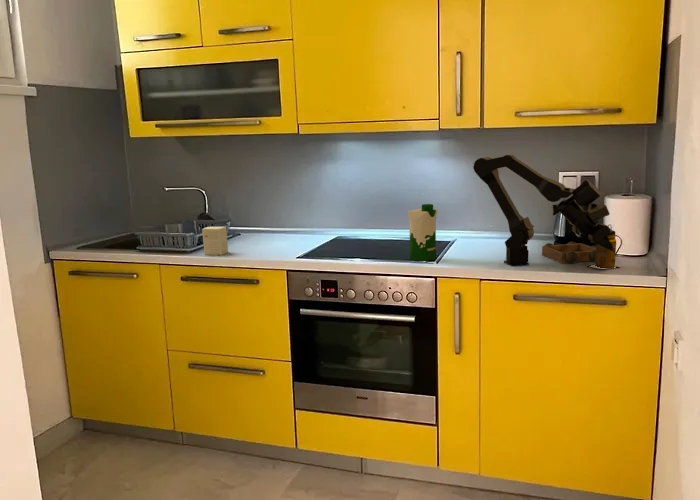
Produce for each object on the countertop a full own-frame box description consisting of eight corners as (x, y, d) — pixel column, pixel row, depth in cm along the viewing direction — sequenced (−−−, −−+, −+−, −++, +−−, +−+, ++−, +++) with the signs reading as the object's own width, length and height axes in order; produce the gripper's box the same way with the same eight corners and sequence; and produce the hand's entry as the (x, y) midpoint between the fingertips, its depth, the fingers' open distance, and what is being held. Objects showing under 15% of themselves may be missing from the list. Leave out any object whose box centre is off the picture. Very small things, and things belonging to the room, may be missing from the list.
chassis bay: (563, 264, 210) (563, 252, 209) (540, 254, 225) (540, 243, 225) (604, 260, 212) (604, 249, 211) (578, 251, 228) (579, 241, 227)
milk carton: (427, 263, 218) (426, 206, 214) (405, 260, 223) (404, 205, 219) (440, 258, 224) (439, 203, 220) (418, 256, 230) (418, 202, 226)
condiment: (621, 267, 202) (623, 231, 200) (601, 270, 199) (602, 233, 196) (603, 263, 208) (605, 228, 206) (584, 266, 205) (585, 230, 203)
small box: (228, 252, 250) (226, 226, 247) (222, 255, 244) (220, 228, 242) (210, 251, 252) (208, 226, 250) (203, 254, 246) (201, 228, 244)
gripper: (605, 199, 190) (639, 234, 192) (582, 193, 208) (613, 224, 210) (578, 226, 191) (612, 259, 194) (558, 217, 210) (589, 248, 212)
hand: (607, 246), depth 202 cm, fingers closed on condiment, 6 cm apart
